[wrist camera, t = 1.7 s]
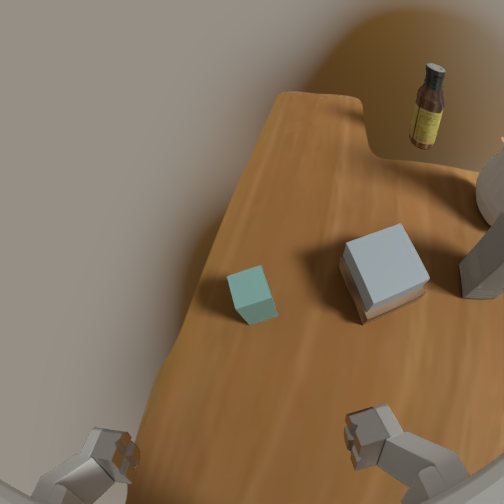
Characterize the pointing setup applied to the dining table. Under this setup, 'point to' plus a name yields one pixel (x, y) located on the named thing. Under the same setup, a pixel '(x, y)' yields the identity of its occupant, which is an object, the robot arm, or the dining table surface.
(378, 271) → the grey block
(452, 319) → the dining table surface
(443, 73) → the sauce bottle
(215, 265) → the dining table surface
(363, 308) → the walnut block
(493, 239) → the skincare box
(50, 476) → the robot arm
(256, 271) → the teal block
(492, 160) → the soap bottle
